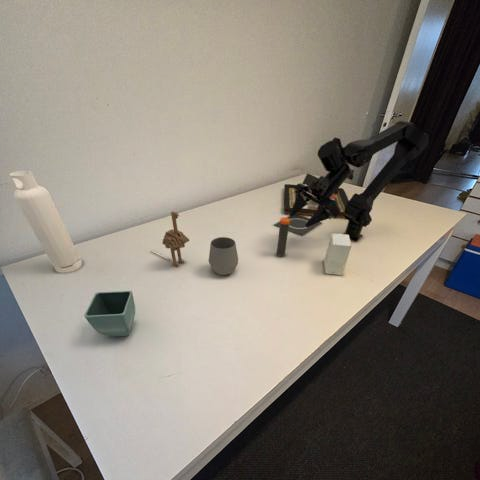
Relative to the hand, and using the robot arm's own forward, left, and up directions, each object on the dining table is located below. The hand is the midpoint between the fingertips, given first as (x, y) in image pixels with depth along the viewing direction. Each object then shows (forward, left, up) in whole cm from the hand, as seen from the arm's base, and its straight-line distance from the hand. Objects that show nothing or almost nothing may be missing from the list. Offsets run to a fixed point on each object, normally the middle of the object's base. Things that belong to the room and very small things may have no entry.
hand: (297, 221), depth 88 cm
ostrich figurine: (+34, -29, -12) cm, 46 cm away
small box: (0, +16, -12) cm, 20 cm away
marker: (+5, -2, -12) cm, 13 cm away
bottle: (+59, -50, -12) cm, 78 cm away
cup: (+26, -10, -12) cm, 30 cm away
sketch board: (-21, -11, -12) cm, 27 cm away
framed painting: (-48, -18, -12) cm, 53 cm away
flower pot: (+63, -11, -12) cm, 65 cm away
